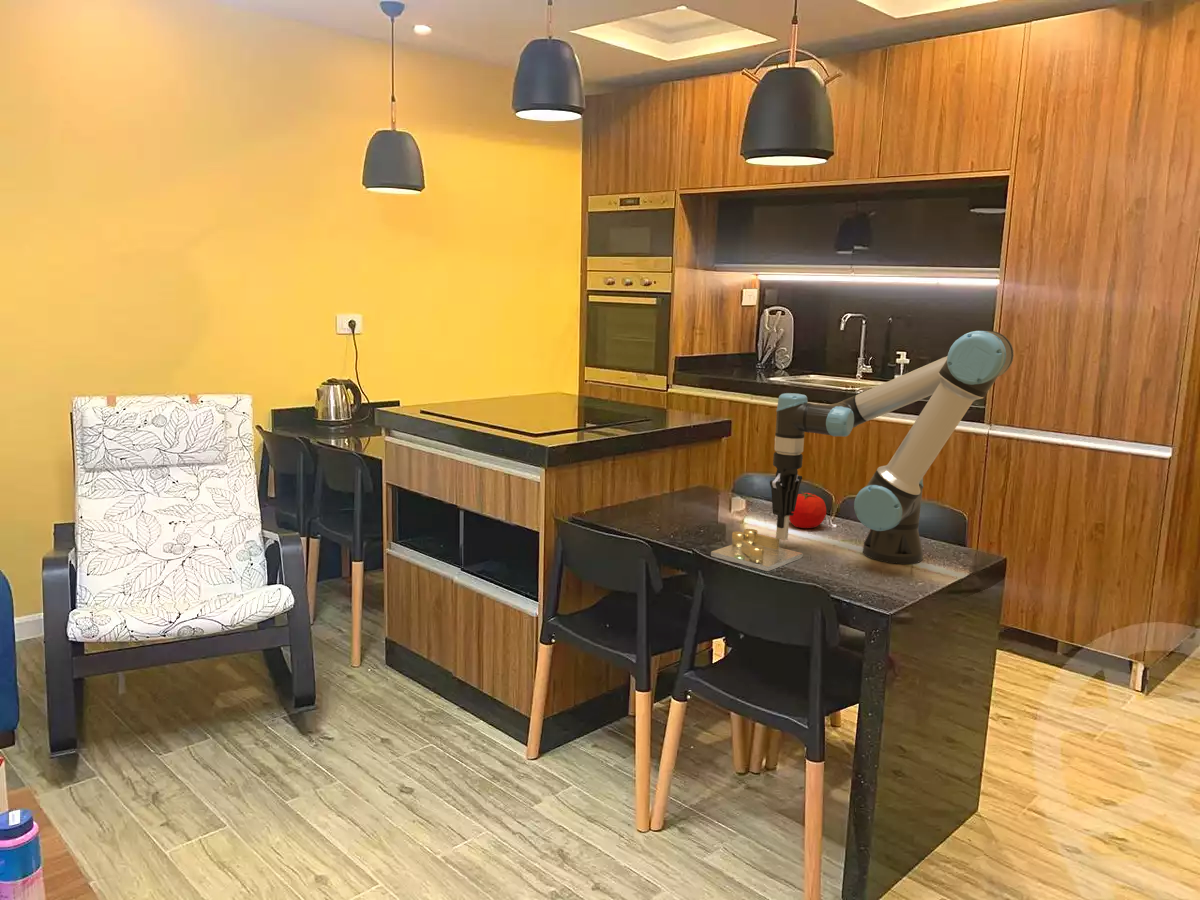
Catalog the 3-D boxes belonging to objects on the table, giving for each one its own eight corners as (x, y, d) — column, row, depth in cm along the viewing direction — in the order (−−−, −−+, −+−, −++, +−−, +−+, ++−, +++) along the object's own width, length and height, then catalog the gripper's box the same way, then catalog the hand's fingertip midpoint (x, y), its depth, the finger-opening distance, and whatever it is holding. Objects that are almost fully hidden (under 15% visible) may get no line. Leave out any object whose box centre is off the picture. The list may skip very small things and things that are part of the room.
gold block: (740, 542, 239) (741, 530, 239) (747, 539, 242) (748, 528, 241) (774, 550, 232) (774, 538, 232) (781, 548, 235) (782, 536, 235)
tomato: (794, 519, 271) (796, 486, 270) (830, 526, 265) (833, 492, 263) (778, 527, 262) (780, 493, 260) (815, 534, 255) (818, 499, 254)
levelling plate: (802, 557, 232) (803, 541, 231) (767, 571, 219) (768, 554, 218) (745, 543, 243) (746, 527, 242) (709, 556, 230) (710, 539, 230)
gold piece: (765, 562, 222) (766, 549, 221) (751, 562, 221) (752, 550, 220) (749, 550, 232) (750, 538, 231) (736, 550, 231) (737, 538, 230)
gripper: (788, 447, 242) (782, 531, 246) (762, 452, 232) (756, 540, 237) (813, 451, 237) (806, 537, 241) (788, 457, 228) (781, 546, 232)
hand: (781, 538), depth 239 cm, fingers closed
